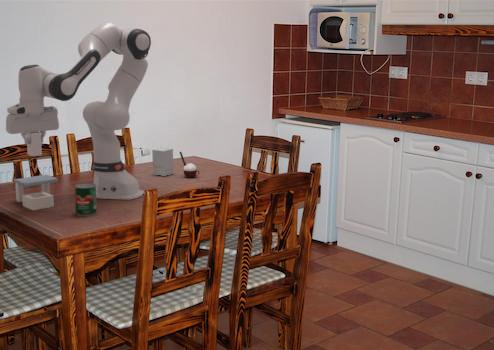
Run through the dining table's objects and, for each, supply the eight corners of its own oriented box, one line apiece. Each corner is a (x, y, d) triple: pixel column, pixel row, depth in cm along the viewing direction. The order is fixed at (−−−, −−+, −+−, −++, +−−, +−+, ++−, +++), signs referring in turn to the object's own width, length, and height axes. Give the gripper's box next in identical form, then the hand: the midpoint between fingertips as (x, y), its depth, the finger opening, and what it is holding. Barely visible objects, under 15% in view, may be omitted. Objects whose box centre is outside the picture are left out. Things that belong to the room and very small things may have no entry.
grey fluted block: (173, 174, 322) (173, 148, 320) (164, 177, 316) (163, 151, 314) (162, 172, 326) (161, 147, 324) (152, 175, 320) (151, 149, 317)
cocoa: (200, 177, 317) (202, 153, 315) (192, 179, 312) (194, 154, 309) (185, 174, 322) (186, 150, 320) (177, 176, 317) (178, 151, 314)
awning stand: (69, 203, 266) (68, 182, 264) (32, 210, 256) (31, 187, 254) (47, 195, 279) (46, 174, 277) (12, 201, 269) (10, 179, 267)
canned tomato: (77, 216, 248) (76, 188, 245) (74, 211, 255) (72, 183, 252) (98, 214, 251) (97, 186, 248) (94, 209, 258) (93, 182, 256)
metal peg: (41, 155, 258) (40, 132, 256) (32, 156, 255) (30, 133, 253) (37, 153, 260) (36, 131, 259) (27, 154, 258) (26, 131, 256)
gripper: (53, 105, 263) (55, 139, 266) (2, 108, 249) (5, 144, 252) (60, 106, 258) (62, 141, 261) (9, 110, 245) (12, 147, 248)
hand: (34, 143), depth 257 cm, fingers closed on metal peg, 4 cm apart
